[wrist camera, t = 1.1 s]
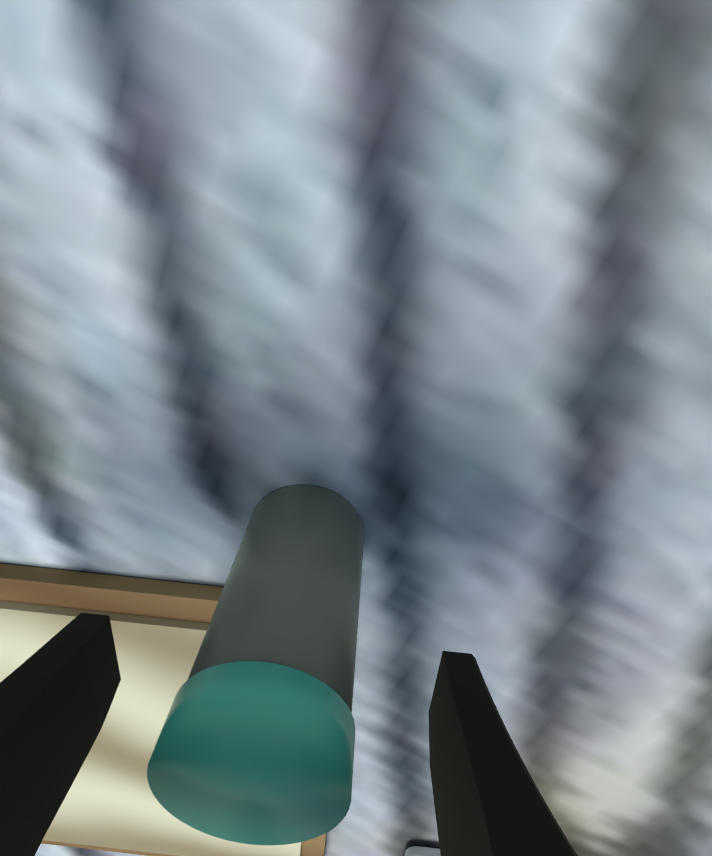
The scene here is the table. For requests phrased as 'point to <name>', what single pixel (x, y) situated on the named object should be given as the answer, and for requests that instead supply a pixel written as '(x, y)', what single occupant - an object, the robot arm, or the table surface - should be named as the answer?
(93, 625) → the robot arm
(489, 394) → the table surface
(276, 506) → the teal topped grey cylinder
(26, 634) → the clipboard
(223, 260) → the table surface
